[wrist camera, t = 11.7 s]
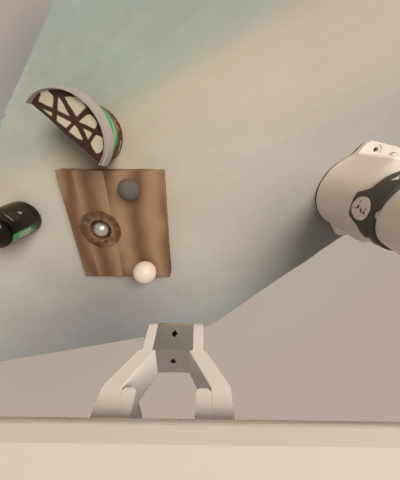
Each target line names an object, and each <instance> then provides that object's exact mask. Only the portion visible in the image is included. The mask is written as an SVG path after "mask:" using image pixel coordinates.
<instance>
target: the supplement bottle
mask: <svg viewBox="0 0 400 480" xmlns="http://www.w3.org/2000/svg"><path fill="white" fill-rule="evenodd" d="M40 225H41V217H40V214H39V213H38V211H37V210H36V209H35V208H34V207H33V206H31V205H29V204H27V203H25V202H13V203H10V204H7V205H4V206H1V207H0V248H3V247H6V246H8V245H10V244H12V243H14V242H16V241H17V240H19V239H21V238H23V237H25V236H26V235H28V234H30V233H32V232H33V231H35V230H37V229H38V228H39V227H40Z"/></svg>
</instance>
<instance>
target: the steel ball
mask: <svg viewBox="0 0 400 480" xmlns="http://www.w3.org/2000/svg"><path fill="white" fill-rule="evenodd" d="M93 231H94V233H95V234H96V235H97V236H100V237H104V236H107V235H108V234H109V233H110V231H111V227H110V226H109V225H108V224H107V223H106V222H104V221H102V220H100V221H97V222H96V223H95V224H94V225H93Z"/></svg>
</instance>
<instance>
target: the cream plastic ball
mask: <svg viewBox="0 0 400 480" xmlns="http://www.w3.org/2000/svg"><path fill="white" fill-rule="evenodd" d="M133 276H134V278H135V280H136V281H137V282H139V283H141V284H147V283H150V282H151V281H153V280H154V278H155V276H156V267H155V266H154V264H152V263H151V262H149V261H142V262H139V263H138V264H137V265H136V266H135V267H134V269H133Z"/></svg>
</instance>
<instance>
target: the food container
mask: <svg viewBox="0 0 400 480" xmlns="http://www.w3.org/2000/svg"><path fill="white" fill-rule="evenodd" d="M25 103H29V104H33V105H34V106H35V107H36V108H37V109H39V110H40V111H41V112H42V113H44V114H45V115H46V116H47V117H48V118H49V119H50V120H52V121H53V122H54V123H55V124H56V125H57V126H58V127H59V128H60V129H61V130H62V131H63V132H64V133H65V134H66V135H68V136H69V137H70V138H71V139H73V140H74V141H75V142H76V143H78V144H79V145H80V146H81V147H83V148H84V149H85V150H86V151H87V152H88V153H90V154H91V155H92V156H93V157H94V158H95V159H96V160H98V161H99V162H100V163H99V164H98V165H101V166H108V164H109V162H110V160H111V159H112V158H114V157H115V156H117V155H118V154H119V152H120V150H121V147H122V143H123V137H122V131H121V128H120V125H119V123H118V121H117V120H116V118H115V117H114V115H113V114H112V113H111V112H109V111H108V110H107V109H105V108H103V107H101V106H99V105H98V104H97V103H96V102H95V101H94V100H93V99H92V98H90V97H89V96H88V95H87V94H85V93H84V92H82V91H80V90H78V89H76V88H73V87H69V86H64V85H52V86H45V87H42V88H40V89H38V90H36V91H35V92H33V93H32V94H31V95H30V96H29V97H28V98H27V100H26V101H25Z"/></svg>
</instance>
